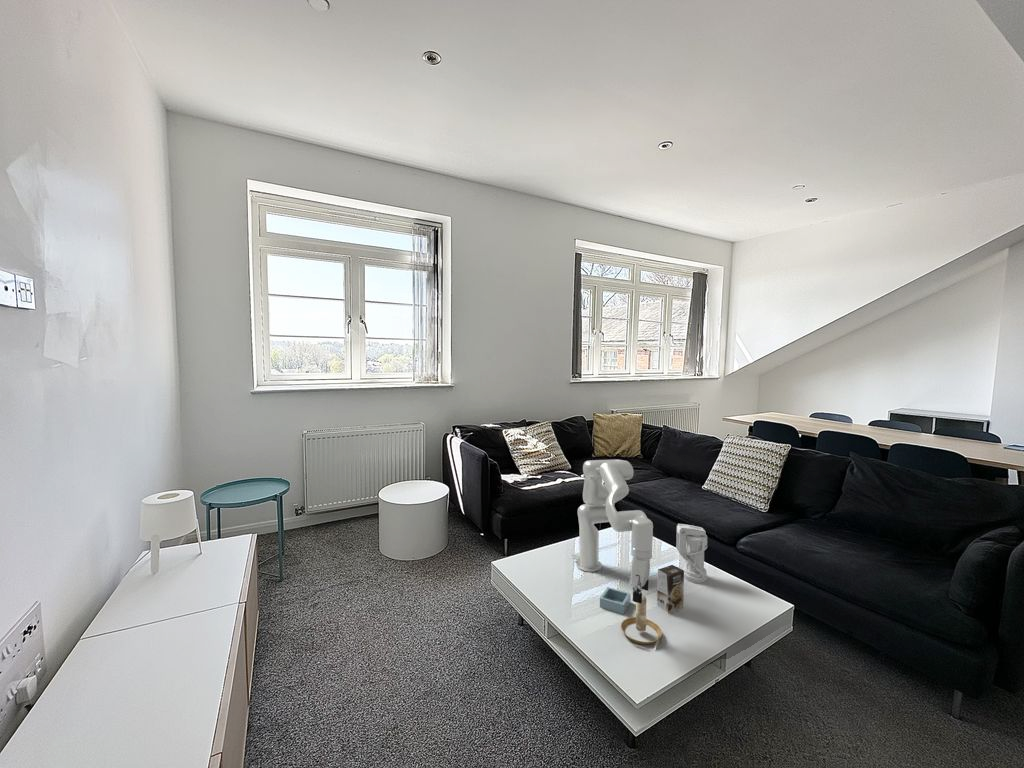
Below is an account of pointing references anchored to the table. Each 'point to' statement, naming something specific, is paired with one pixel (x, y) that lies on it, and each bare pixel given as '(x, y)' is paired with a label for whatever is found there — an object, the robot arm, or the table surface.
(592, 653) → the table surface
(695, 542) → the white sculpture
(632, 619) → the plant saucer
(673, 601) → the coffee box
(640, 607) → the dowel
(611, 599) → the holder
